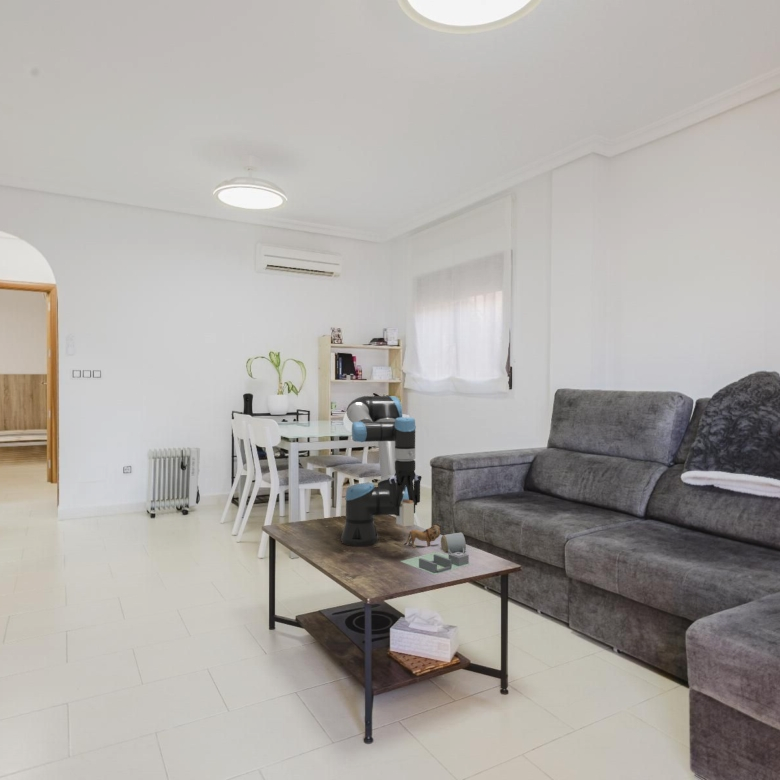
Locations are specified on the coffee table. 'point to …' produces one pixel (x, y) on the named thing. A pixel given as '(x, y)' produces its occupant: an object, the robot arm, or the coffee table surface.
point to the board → (429, 557)
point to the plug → (407, 512)
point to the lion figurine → (424, 535)
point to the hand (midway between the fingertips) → (405, 523)
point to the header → (432, 565)
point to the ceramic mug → (453, 543)
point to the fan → (459, 558)
